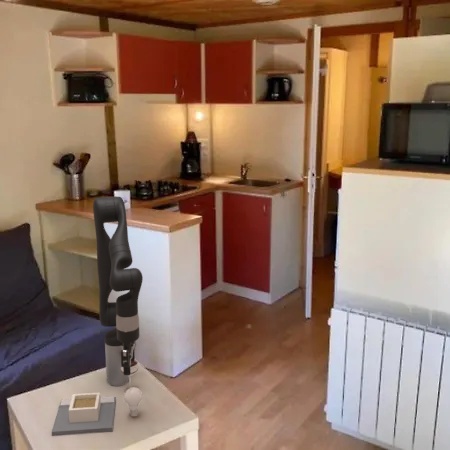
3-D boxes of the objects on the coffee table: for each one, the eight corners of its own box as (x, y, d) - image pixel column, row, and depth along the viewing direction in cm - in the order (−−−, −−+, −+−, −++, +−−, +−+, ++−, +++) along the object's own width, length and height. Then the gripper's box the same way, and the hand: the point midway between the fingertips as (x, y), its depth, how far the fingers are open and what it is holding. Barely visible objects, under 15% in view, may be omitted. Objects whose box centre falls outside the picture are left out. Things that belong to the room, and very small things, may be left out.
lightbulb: (134, 408, 189) (134, 381, 186) (146, 415, 185) (145, 388, 183) (121, 416, 185) (120, 389, 182) (133, 423, 181) (132, 396, 178)
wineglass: (141, 386, 203) (140, 358, 200) (136, 396, 196) (135, 368, 193) (124, 384, 204) (123, 357, 200) (119, 394, 197) (117, 366, 194)
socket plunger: (76, 403, 186) (76, 399, 185) (96, 402, 187) (96, 398, 186) (73, 415, 179) (73, 411, 179) (94, 413, 180) (94, 410, 180)
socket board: (61, 403, 191) (59, 388, 189) (116, 400, 194) (115, 385, 192) (51, 435, 174) (50, 419, 172) (112, 431, 176) (111, 414, 175)
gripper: (120, 315, 180) (122, 356, 184) (112, 335, 166) (114, 379, 171) (142, 315, 180) (143, 356, 184) (135, 335, 166) (137, 379, 171)
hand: (129, 367), depth 177 cm, fingers open, 8 cm apart
